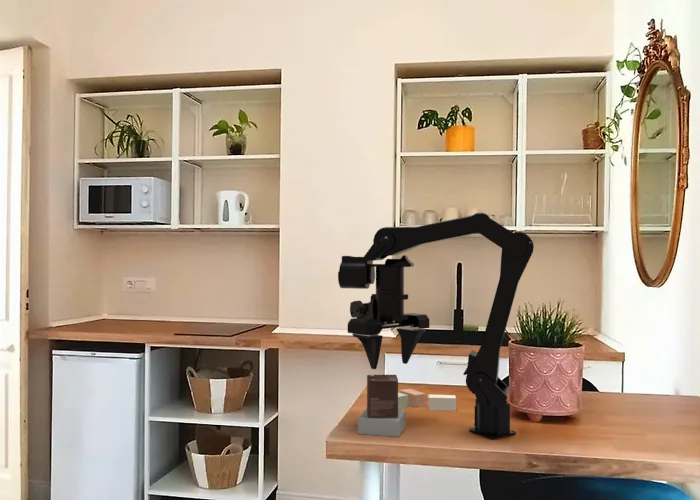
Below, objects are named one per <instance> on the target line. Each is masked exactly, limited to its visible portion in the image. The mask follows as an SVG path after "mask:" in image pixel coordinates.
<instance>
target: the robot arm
mask: <svg viewBox="0 0 700 500" xmlns="http://www.w3.org/2000/svg"><path fill="white" fill-rule="evenodd" d="M476 234H480V235H481V236H482V237H484V238H486V239H488V240H489V241H490V242H492V243H493V244H495V245H496V246H498V248H501V256H500V268H499V269H500V270H499V272H500V273H499V280H498V283H497V287H496V290H495V294H494V298H493V302H492V305H491V309H490V311H489V316H488V319H487V323H486V327H485V330H484V335H483V338H482V342H481V345H480V347H479V349H478V352H477V351H476V350H473V349H472V350H470V352H469V354H468V358H467V359H468V360H467V367H466V368H465V370H464V372H463V373H462V374H463V375H464V376H465V385H466V387H467V389H468V391H469V392H471V393H472V394H473V395H474V396H475V405H474V427H471V428H469V432H471V433H474V434H476V435H479V436H482V437H485V438H488V439H490V440H496V439H499V438H504V437H509V436H515V435H516V434H517V431H515V430H512V429H511V403H510V402H508V401H507V399H508V395H509V390H510V388H509V386H508V385H507V384H506V383H505V382H504V381H503V380H502V379H501V378H500V377H499V370H500V358H501V347H502V343H503V339H504V337H505V333H506V329H507V326H508V322H509V318H510V315H511V311H512V306H513V304H514V301H515V297H516V292H517V289H518V285H519V283H520V280H521V277H522V276H523V274H524V272H525V270H526V267H527V266H528V263H529V261H530V259H531V257H532V255H533V253H534V246H535V245H534V242H533V240H532V239H531V237H530V236H529V235H527V234H526V233H524V232H520V231H517V232H515V231H514V232H512V231H511V230H509V229H508V228H506V227H505V226H503V225H501V224H500V223H498V222H497V221H495V220H493V219H492V218H491V217H490V216H489V215H488V214H486V213H485V212H476V213H474V214H471V215H467V216H462V217H458V218H457V217H456V218H452V219H448V220H444V221H443V220H441V221H438V222H433V223H429V224H423V225H419V226H386V227H382V228H381V227H380V228H379V229H378V230H377V231H376V232H375V234H374V237H373V239H372V240H373V241H372V242H373V243H372V245H371V246H370V247H369V248H368V251H366V253H365V255H364V256H352V255H342V256H341V262H340V264H339V269H338V271H337V281H338V285H339V288H340V289H355V290H356V289H357V290H358V289H361V290H363V289H364V290H367V289H369V288H370V287H371V285H374V283H375V293H372V294H371V296H370V300H369V302H362V301H361V300H353V301H351V302H350V305H349V313H350V317H351V318H350V319H349V320H348V322H347V333H348V334H351V335H352V336H353V337H354V338H357V340H359V342H361V344H362V347H363V349H364V351H365V354H366V357H367V361H368V362H369V366H370V369H371V370H376V369H377V368H378V363H379V359H380V353H381V347H382V344H383V343H382V342H383V335H380V334H381V332H382V331H383V330H384V329H393V328H396V332H397V333H398V334H399V336H400V347H401V348H400V351H401V361H402V362H401V363H402V364H404V365H407V364H409V361H410V359H411V357H412V355H413V352H414V350H415V349H416V346H417V344H418V343H419V341H420V339H421V338H422V336H423V335H424V334H425V332H426V329H430V318H429V316H428V315H427V314H424V313H413V312H407V313H405V300H409V294H405V268H412V267H414V266H415V264H414V263H413V262H412V261H411V260H410V259H409V257H408V256H407V255H404V254H403V253H407V252H408V251H411V250H414V249H416V248H418V247H420V246H422V245H423V246H424V245H427V244H431V243H436V242H441V241H446V240H452V239H456V238H463V237H467V236H471V235H476ZM401 254H403V255H402V256H401V257H400V258H387V257H392V256H398V255H401ZM385 258H386V260H385V261H384V263H374V261H383V260H384V259H385Z"/></svg>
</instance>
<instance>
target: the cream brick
mask: <svg viewBox="0 0 700 500" xmlns="http://www.w3.org/2000/svg"><path fill="white" fill-rule="evenodd" d="M427 404H428V407H427V408H428V411H438V412H439V411H442V412H457V397H456V395H455V394H428V402H427Z"/></svg>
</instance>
